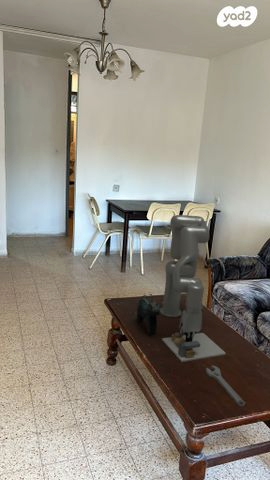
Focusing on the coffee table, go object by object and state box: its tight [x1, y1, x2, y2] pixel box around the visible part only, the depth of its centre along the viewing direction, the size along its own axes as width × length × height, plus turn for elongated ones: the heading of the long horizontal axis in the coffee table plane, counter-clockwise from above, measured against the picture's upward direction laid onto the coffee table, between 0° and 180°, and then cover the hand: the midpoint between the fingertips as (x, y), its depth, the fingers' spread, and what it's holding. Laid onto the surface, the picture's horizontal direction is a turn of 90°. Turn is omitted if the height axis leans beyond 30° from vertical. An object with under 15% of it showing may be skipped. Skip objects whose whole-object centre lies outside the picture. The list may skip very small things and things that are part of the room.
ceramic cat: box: [136, 293, 161, 336], centre depth 189 cm, size 20×6×20 cm, turn 22°
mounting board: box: [161, 332, 226, 363], centre depth 176 cm, size 20×24×6 cm
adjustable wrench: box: [205, 365, 246, 408], centre depth 149 cm, size 25×6×2 cm, turn 14°
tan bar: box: [171, 332, 195, 357], centre depth 173 cm, size 17×4×4 cm, turn 18°
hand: (188, 343), depth 176 cm, fingers closed
